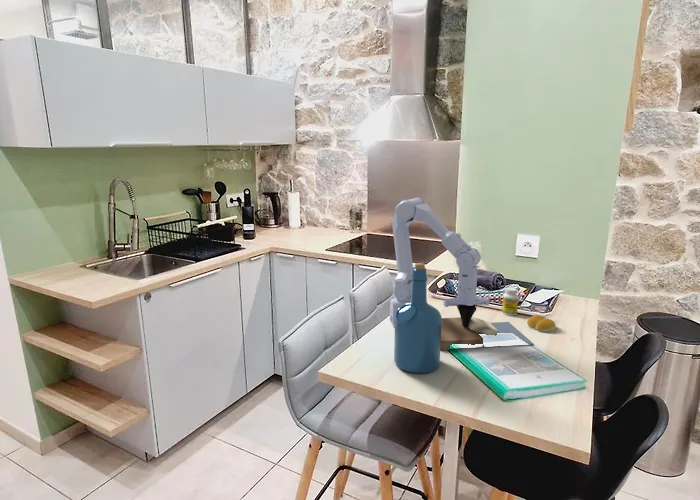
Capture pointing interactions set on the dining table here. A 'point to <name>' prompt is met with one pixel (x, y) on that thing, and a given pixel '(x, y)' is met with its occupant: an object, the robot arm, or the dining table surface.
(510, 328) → the mat
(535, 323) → the bread roll
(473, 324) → the tile
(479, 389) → the dining table surface
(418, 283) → the wine bottle
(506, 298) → the supplement bottle
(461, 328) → the board
